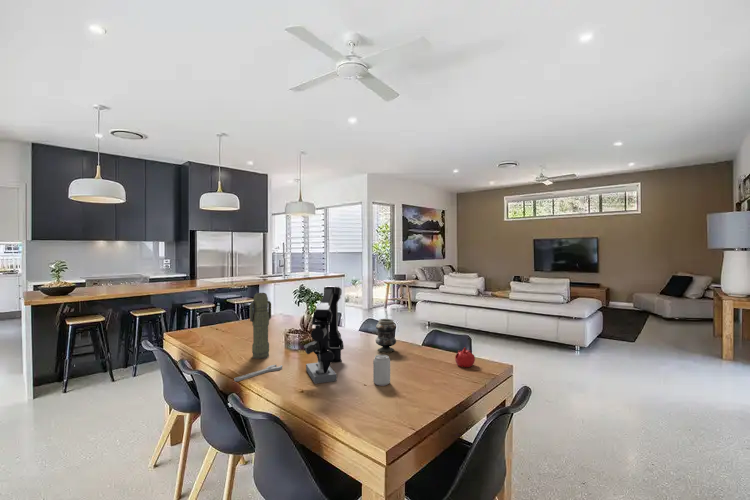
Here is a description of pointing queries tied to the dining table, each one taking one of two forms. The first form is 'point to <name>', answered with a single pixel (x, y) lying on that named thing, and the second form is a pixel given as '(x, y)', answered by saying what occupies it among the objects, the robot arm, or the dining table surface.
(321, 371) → the steel peg
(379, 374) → the can
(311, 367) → the socket plate
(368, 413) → the dining table surface
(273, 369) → the adjustable wrench
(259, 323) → the thermos
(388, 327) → the apothecary jar
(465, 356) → the pomegranate
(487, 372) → the dining table surface
